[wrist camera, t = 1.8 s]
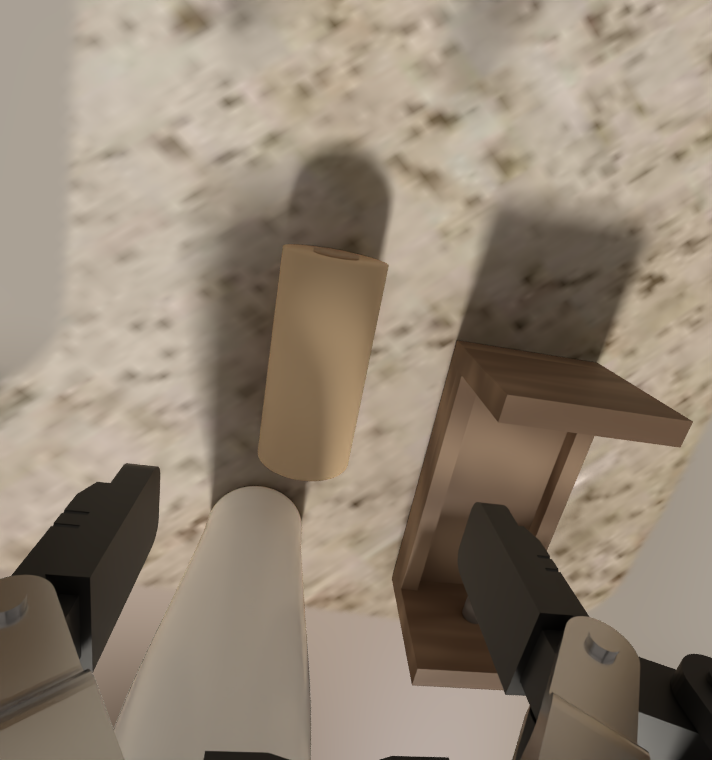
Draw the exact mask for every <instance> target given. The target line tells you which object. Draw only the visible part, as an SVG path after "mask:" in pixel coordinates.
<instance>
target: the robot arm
mask: <svg viewBox="0 0 712 760" xmlns="http://www.w3.org/2000/svg"><path fill="white" fill-rule="evenodd" d="M159 496H160V469H159V467H156V466H147V465H138V464H128V463H126V464H124V465H123V467H122V468H121V469H120V471H119V472H118V474H117V475H116V476H115V478H114V479H113V481H112V482H111V483H103V482H96V483H95V484H93V485H91V486H90V487H88V488H86V489H85V490H83V491H81V492H80V493H78V494H77V495H76V496H75V497H74V499H73V500H72V501H71V502H70V503H69V505H68V506H67V507H66V508H65V510H64V513H61V515H60V516H59V517H58V518H57V520H56V521H55V522H54V525H53V526H51V527H50V528H49V530H48V531H47V532H46V533H45V534H44V536H43V537H42V538H41V539H40V541H39V542H38V543H37V544H36V546H35V547H34V548H33V549H32V551H31V552H30V553H29V554H28V556H27V557H26V558H25V559H24V561H23V562H22V563H21V564H20V565H19V567H18V568H17V569H16V570H15V572H14V573H13V574H12V575H11V576H9V577H5V578H2V579H0V760H125V759H124V757H123V754H122V751H121V748H120V746H119V743H118V740H117V737H116V735H115V732H114V729H113V726H112V724H111V721H110V719H109V716H108V713H107V710H106V707H105V704H104V702H103V699H102V697H101V694H100V691H99V688H98V685H97V683H96V680H95V678H94V675H93V674H92V673H93V671H94V669H95V667H96V665H97V662H98V660H99V658H100V656H101V654H102V652H103V650H104V647H105V645H106V643H107V641H108V639H109V637H110V635H111V633H112V631H113V628H114V626H115V624H116V622H117V620H118V618H119V616H120V614H121V611H122V609H123V607H124V605H125V603H126V601H127V598H128V597H129V594H130V592H131V590H132V588H133V586H134V584H135V582H136V580H137V578H138V575H139V573H140V571H141V569H142V567H143V565H144V563H145V561H146V558H147V556H148V554H149V552H150V550H151V548H152V545H153V543H154V540H155V536H156V532H157V528H158V521H159ZM458 570H459V573H460V576H461V579H462V582H463V584H464V587H465V589H466V592H467V595H468V597H469V600H470V603H471V605H472V608H473V611H474V613H475V616H476V618H477V621H478V624H479V626H480V629H481V632H482V634H483V637H484V640H485V642H486V645H487V647H488V650H489V653H490V655H491V658H492V661H493V663H494V666H495V668H496V671H497V674H498V676H499V679H500V682H501V684H502V687H503V690H504V692H505V694H506V695H523V696H526V697H527V700H528V702H529V704H530V706H529V708H528V710H527V712H526V715H525V717H524V721H523V724H522V728H521V731H520V735H519V738H518V741H517V745H516V748H515V752H514V755H513V759H512V760H712V658H710V657H707V656H704V655H699V654H689V655H687V656H685V657H684V658H683V659H682V661H681V663H680V665H679V666H678V668H677V670H675V669H673V668H670V667H667V666H664V665H661V664H658V663H655V662H652V661H649V660H646V659H643V658H640V657H638V655H637V653H636V651H635V649H634V648H633V646H632V645H631V644H630V643H629V642H628V640H627V639H626V638H625V637H624V636H622V635H621V634H620V633H619V632H618V631H617V630H615V629H614V628H612V627H611V626H609V625H607V624H606V623H604V622H601V621H599V620H597V619H594V618H591V617H589V616H588V614H587V612H586V611H585V609H584V608H583V606H582V605H581V603H580V602H579V600H578V599H577V597H576V596H575V594H574V592H573V591H572V589H571V588H570V586H569V585H568V583H567V582H566V580H565V579H564V577H563V576H562V574H561V572H558V568H557V566H556V565H555V563H554V562H553V560H552V559H550V556H549V554H548V552H547V551H546V549H545V548H544V546H543V545H542V543H541V542H540V540H539V539H537V538H536V537H535V536H534V535H533V534H532V533H531V532H530V531H528V530H527V529H526V528H525V527H524V526H518V524H517V522H516V521H515V519H514V517H513V516H512V514H511V513H510V511H509V509H508V508H507V507H506V506H505V505H500V504H491V503H482V502H476V503H475V504H474V505H473V507H472V509H471V512H470V515H469V518H468V521H467V524H466V527H465V531H464V534H463V537H462V540H461V543H460V546H459V550H458ZM203 760H289V759H286V758H283V757H280V756H277V755H274V754H271V753H265V752H230V751H205V754H204V759H203ZM380 760H449V758H445V757H409V756H408V757H407V756H391V757H387V758H384V759H380Z"/></svg>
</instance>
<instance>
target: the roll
mask: <svg viewBox="0 0 712 760" xmlns="http://www.w3.org/2000/svg"><path fill="white" fill-rule="evenodd" d="M388 266H389V265H388V264H387V263H385V262H382V261H380V260H377V259H374V258H371V257H367V256H363V255H359V254H355V253H351V252H347V251H343V250H338V249H332V248H325V247H317V246H309V245H298V244H287V245H283V249H282V257H281V265H280V274H279V282H278V290H277V298H276V306H275V314H274V322H273V331H272V339H271V347H270V355H269V363H268V371H267V380H266V388H265V396H264V404H263V412H262V420H261V429H260V437H259V445H258V457H259V459H260V461H261V462H262V463H263V464H264V466H266V467H267V468H268V469H270V470H271V471H273V472H275V473H277V474H279V475H281V476H284V477H287V478H290V479H295V480H301V481H322V480H327V479H331V478H334V477H336V476H338V475H340V474H341V473H342V472H344V471H345V469H346V468H347V466H348V462H349V457H350V452H351V447H352V442H353V437H354V432H355V427H356V423H357V418H358V413H359V408H360V403H361V398H362V393H363V388H364V383H365V379H366V374H367V369H368V364H369V359H370V354H371V349H372V344H373V340H374V335H375V330H376V325H377V320H378V315H379V310H380V305H381V300H382V296H383V291H384V286H385V281H386V276H387V271H388Z"/></svg>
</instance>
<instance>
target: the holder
mask: <svg viewBox="0 0 712 760" xmlns="http://www.w3.org/2000/svg"><path fill="white" fill-rule="evenodd" d="M692 423H693V421H691V420H689V419H688V418H686V417H685V416H683V415H681V414H680V413H678V412H676V411H675V410H673V409H672V408H670V407H668V406H667V405H665V404H663V403H662V402H660V401H659V400H657V399H655V398H654V397H652V396H650V395H649V394H647V393H646V392H644V391H642V390H641V389H639V388H637V387H636V386H634V385H633V384H631V383H629V382H628V381H626V380H624V379H623V378H621V377H620V376H618V375H616V374H615V373H613V372H611V371H610V370H608V369H606V368H605V367H603V366H602V365H600V364H598V363H595V362H589V361H583V360H577V359H570V358H564V357H558V356H552V355H545V354H539V353H533V352H527V351H520V350H514V349H508V348H502V347H496V346H489V345H483V344H477V343H471V342H464V341H458V340H457V342H456V346H455V349H454V353H453V357H452V360H451V364H450V368H449V371H448V375H447V379H446V383H445V386H444V390H443V394H442V397H441V401H440V405H439V408H438V412H437V416H436V419H435V423H434V427H433V430H432V434H431V438H430V441H429V445H428V449H427V452H426V456H425V460H424V463H423V467H422V471H421V474H420V478H419V482H418V485H417V489H416V493H415V496H414V500H413V504H412V507H411V511H410V515H409V518H408V522H407V526H406V529H405V533H404V537H403V540H402V544H401V548H400V551H399V555H398V559H397V562H396V566H395V570H394V573H393V577H392V581H393V587H394V592H395V597H396V602H397V608H398V613H399V618H400V624H401V628H402V634H403V639H404V645H405V650H406V656H407V661H408V666H409V671H410V677H411V682H412V685H417V686H434V687H436V686H437V687H453V688H470V689H489V690H490V689H491V690H503V687H502V684H501V682H500V679H499V676H498V674H497V671H496V668H495V666H494V663H493V661H492V658H491V655H490V653H489V650H488V647H487V645H486V642H485V640H484V637H483V634H482V632H481V629H480V626H479V624H478V621H477V618H476V616H475V613H474V611H473V608H472V605H471V603H470V600H469V597H468V595H467V592H466V589H465V587H464V584H463V582H462V579H461V576H460V573H459V570H458V550H459V546H460V543H461V540H462V537H463V534H464V531H465V527H466V524H467V521H468V518H469V515H470V512H471V509H472V507H473V505H474V504H475V503H476V502H482V503H491V504H500V505H505V506H506V507H507V508H508V509H509V511H510V513H511V514H512V516H513V517H514V519H515V521H516V522H517V524H518V526H524V527H525V528H526V529H527V530H528V531H530V532H531V533H532V534H533V535H534V536H535V537H536V538H537V539H539V540H540V542H541V543H542V545H543V546H544V548H545V549H546V551H547V549H548V546H549V544H550V542H551V539H552V537H553V534H554V532H555V530H556V527H557V525H558V522H559V520H560V518H561V515H562V513H563V510H564V508H565V506H566V503H567V501H568V498H569V496H570V493H571V491H572V489H573V486H574V484H575V481H576V479H577V477H578V474H579V472H580V469H581V467H582V465H583V462H584V460H585V457H586V455H587V453H588V450H589V448H590V445H591V443H592V441H593V438H594V436H601V437H608V438H615V439H622V440H630V441H637V442H644V443H652V444H659V445H666V446H674V447H681V445H682V443H683V441H684V439H685V437H686V435H687V433H688V431H689V429H690V427H691V425H692Z"/></svg>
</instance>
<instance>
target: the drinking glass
mask: <svg viewBox="0 0 712 760" xmlns="http://www.w3.org/2000/svg"><path fill="white" fill-rule="evenodd" d="M301 536H302V523H301V518H300V514H299V512H298V510H297V508H296V506H295V505H294V504H293V502H292V501H291V500H290V499H289V498H288V497H286V496H285V495H284V494H282V493H280V492H278V491H276V490H274V489H271V488H267V487H262V486H247V487H242V488H239V489H236V490H233V491H231V492H229V493H228V494H226V495H225V496H223V497H222V498H221V499H220V500H219V501H218V502H217V503H216V504H215V506H214V507H213V509H212V511H211V513H210V515H209V517H208V520H207V523H206V526H205V529H204V532H203V534H202V536H201V539H200V541H199V543H198V545H197V547H196V550H195V552H194V554H193V556H192V558H191V560H190V562H189V564H188V567H187V569H186V571H185V573H184V575H183V577H182V579H181V581H180V583H179V586H178V588H177V590H176V592H175V594H174V596H173V598H172V600H171V602H170V605H169V607H168V609H167V611H166V613H165V615H164V617H163V619H162V621H161V623H160V625H159V627H158V629H157V631H156V634H155V636H154V638H153V640H152V642H151V644H150V646H149V648H148V650H147V653H146V654H145V657H144V659H143V661H142V663H141V665H140V667H139V670H138V672H137V674H136V676H135V678H134V681H133V683H132V685H131V687H130V690H129V692H128V695H127V697H126V699H125V702H124V704H123V707H122V709H121V712H120V714H119V717H118V719H117V722H116V725H115V727H114V732H115V735H116V737H117V740H118V743H119V746H120V748H121V751H122V754H123V757H124V759H125V760H203V759H204V754H205V751H230V752H265V753H271V754H274V755H277V756H280V757H283V758H286V759H289V760H311V700H310V699H311V698H310V677H309V661H308V647H307V634H306V620H305V604H304V589H303V573H302V555H301Z"/></svg>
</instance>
